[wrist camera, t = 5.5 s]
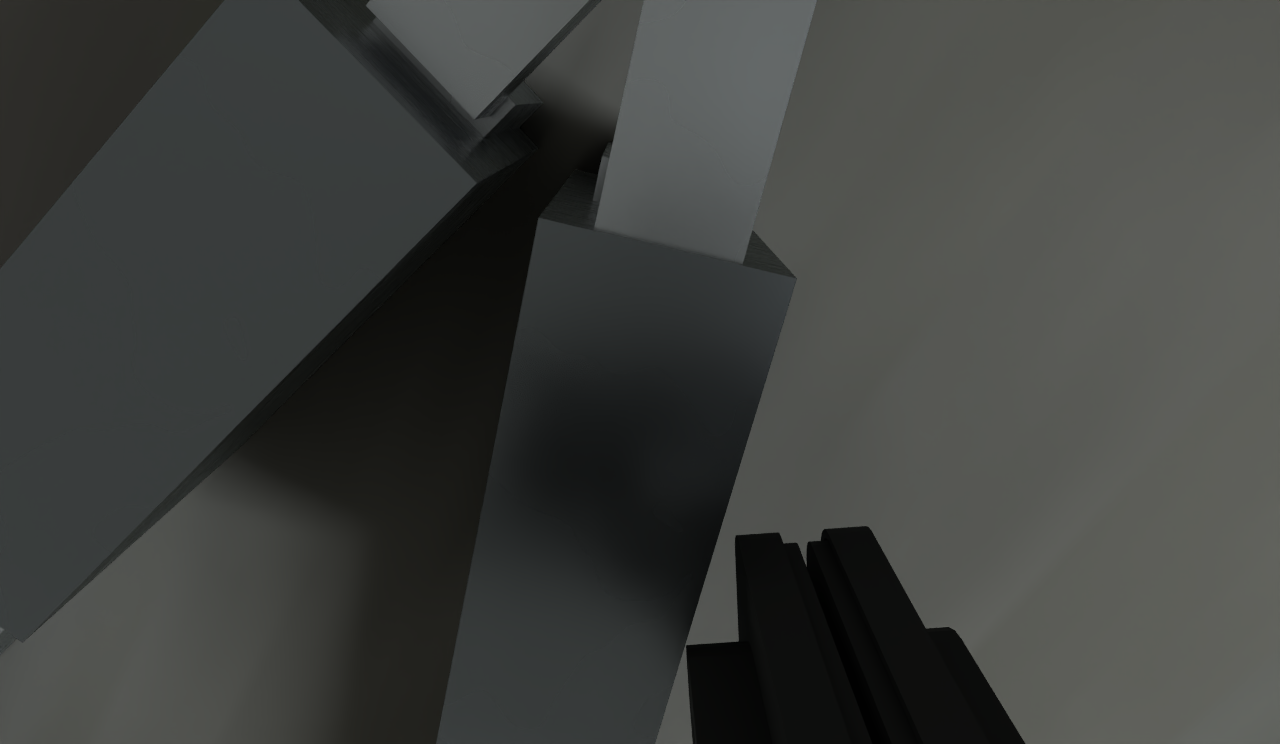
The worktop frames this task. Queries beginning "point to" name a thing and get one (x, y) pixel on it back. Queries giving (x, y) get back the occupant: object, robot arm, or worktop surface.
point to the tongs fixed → (237, 253)
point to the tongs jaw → (630, 390)
